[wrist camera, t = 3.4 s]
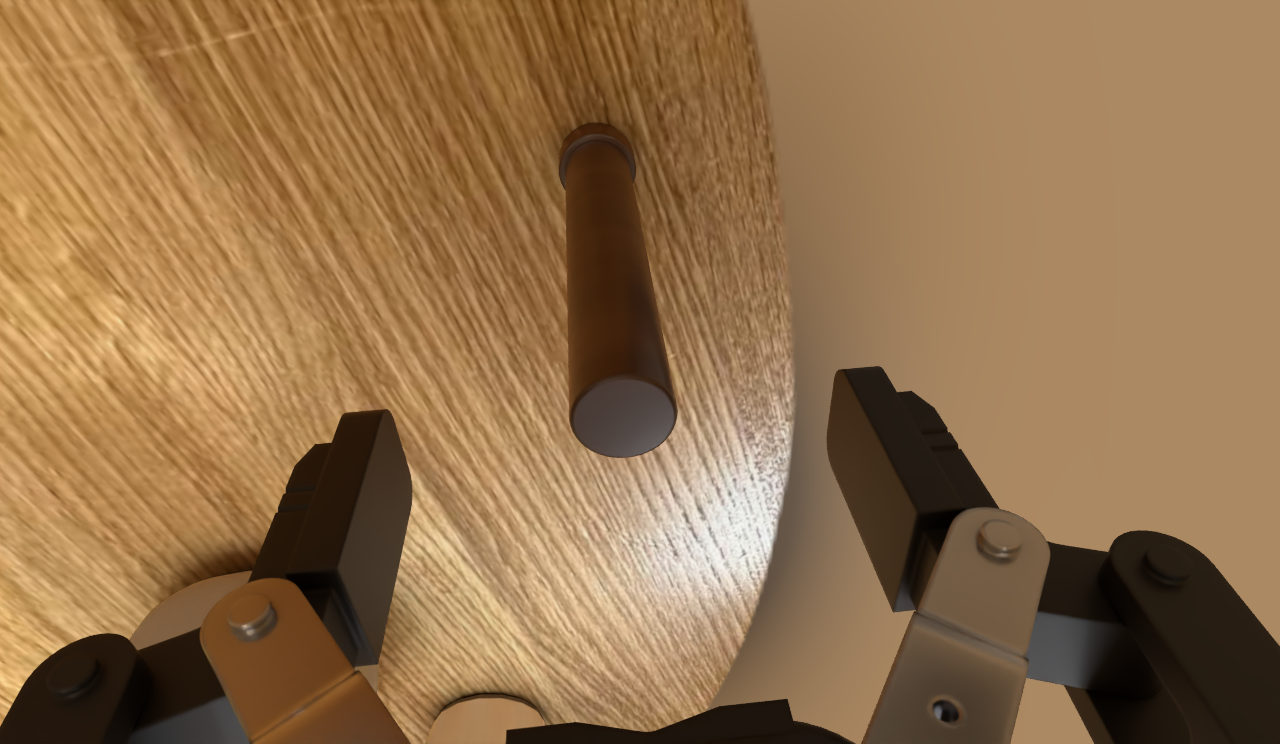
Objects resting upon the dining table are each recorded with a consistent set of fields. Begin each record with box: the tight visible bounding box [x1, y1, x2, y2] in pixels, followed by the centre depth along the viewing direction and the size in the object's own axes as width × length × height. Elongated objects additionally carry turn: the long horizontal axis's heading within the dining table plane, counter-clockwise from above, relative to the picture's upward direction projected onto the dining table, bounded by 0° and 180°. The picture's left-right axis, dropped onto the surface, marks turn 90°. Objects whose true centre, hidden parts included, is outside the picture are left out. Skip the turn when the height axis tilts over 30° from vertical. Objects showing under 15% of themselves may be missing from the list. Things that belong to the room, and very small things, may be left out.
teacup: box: [129, 571, 379, 694], centre depth 34 cm, size 14×11×8 cm
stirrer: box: [559, 123, 678, 458], centre depth 19 cm, size 2×2×13 cm
